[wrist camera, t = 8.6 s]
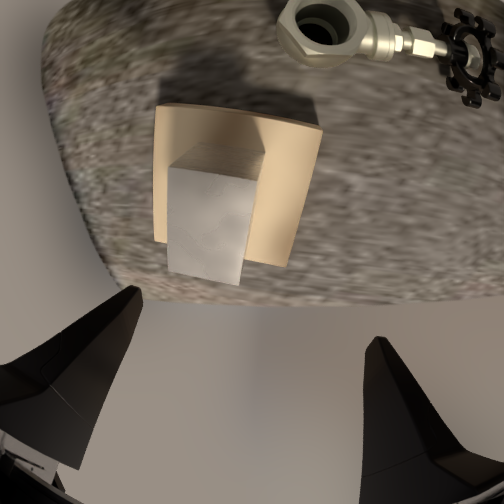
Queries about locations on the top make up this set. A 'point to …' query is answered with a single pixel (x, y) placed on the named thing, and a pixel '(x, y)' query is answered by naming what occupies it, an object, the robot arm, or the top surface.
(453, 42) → the valve
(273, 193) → the oak plate
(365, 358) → the robot arm
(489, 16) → the top surface
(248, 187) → the aluminium block
